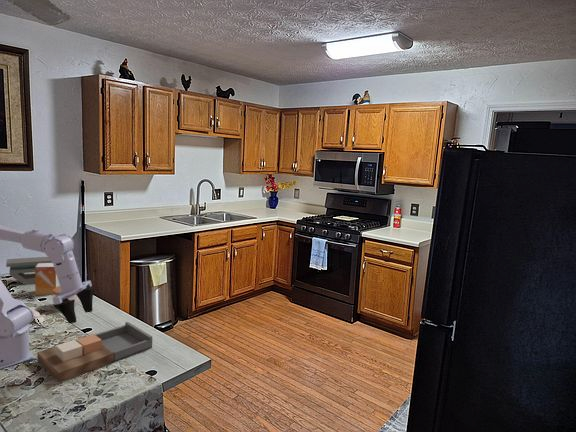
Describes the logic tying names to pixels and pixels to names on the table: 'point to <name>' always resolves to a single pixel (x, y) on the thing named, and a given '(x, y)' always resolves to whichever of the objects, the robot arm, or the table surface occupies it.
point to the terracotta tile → (90, 343)
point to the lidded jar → (74, 297)
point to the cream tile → (68, 350)
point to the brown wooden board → (73, 362)
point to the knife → (38, 315)
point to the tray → (125, 340)
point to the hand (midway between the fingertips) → (81, 317)
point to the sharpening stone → (25, 268)
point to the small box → (45, 279)
